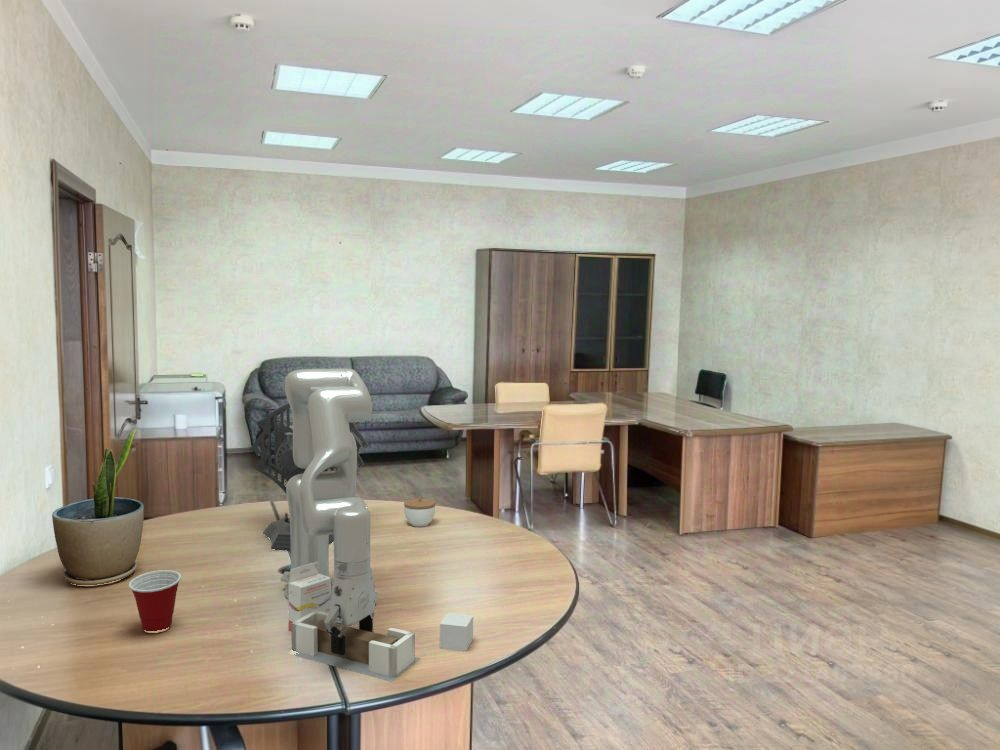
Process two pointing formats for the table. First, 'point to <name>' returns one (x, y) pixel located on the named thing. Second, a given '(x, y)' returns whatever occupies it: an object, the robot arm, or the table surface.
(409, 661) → the end cap
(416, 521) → the lidded jar
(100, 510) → the potted plant
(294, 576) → the ink cartridge box
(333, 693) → the table surface
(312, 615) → the end cap
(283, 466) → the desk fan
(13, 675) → the table surface
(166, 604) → the plastic cup
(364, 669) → the mat
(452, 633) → the gray cube
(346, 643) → the brown wooden block
